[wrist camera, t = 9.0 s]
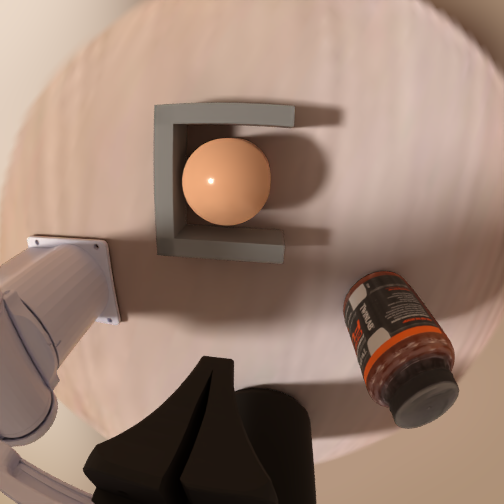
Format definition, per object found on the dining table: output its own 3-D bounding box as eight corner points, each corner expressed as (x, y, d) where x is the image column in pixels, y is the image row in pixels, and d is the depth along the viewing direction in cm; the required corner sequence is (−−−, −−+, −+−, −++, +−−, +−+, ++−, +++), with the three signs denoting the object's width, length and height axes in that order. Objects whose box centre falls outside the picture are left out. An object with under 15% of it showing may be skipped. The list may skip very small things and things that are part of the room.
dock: (171, 239, 22) (157, 255, 19) (170, 108, 18) (154, 105, 15) (281, 246, 21) (283, 263, 18) (291, 110, 18) (295, 105, 15)
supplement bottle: (329, 290, 22) (364, 405, 12) (396, 254, 21) (474, 347, 10) (355, 341, 24) (389, 449, 14) (415, 310, 23) (474, 405, 12)
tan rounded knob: (195, 208, 21) (182, 222, 17) (197, 136, 19) (183, 137, 16) (267, 213, 20) (267, 228, 17) (273, 140, 19) (273, 141, 15)
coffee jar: (190, 396, 28) (148, 553, 11) (286, 371, 26) (289, 564, 9) (238, 445, 31) (223, 573, 15) (321, 426, 29) (333, 569, 12)
